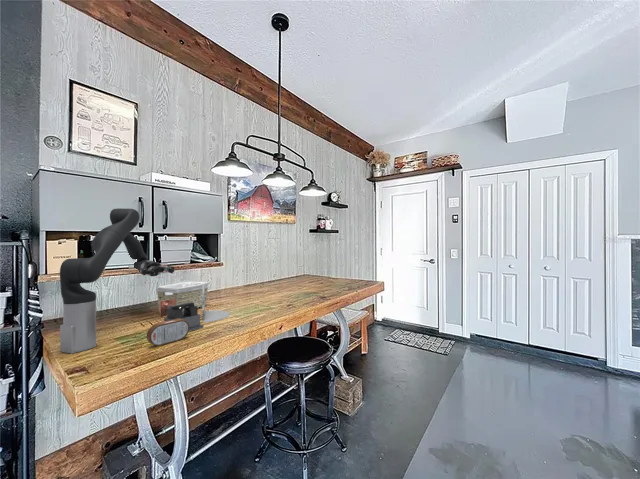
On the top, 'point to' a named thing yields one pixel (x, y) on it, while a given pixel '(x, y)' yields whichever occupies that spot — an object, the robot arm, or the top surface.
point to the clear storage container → (183, 293)
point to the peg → (167, 304)
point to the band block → (190, 315)
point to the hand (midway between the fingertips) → (163, 272)
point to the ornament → (212, 312)
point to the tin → (167, 332)
